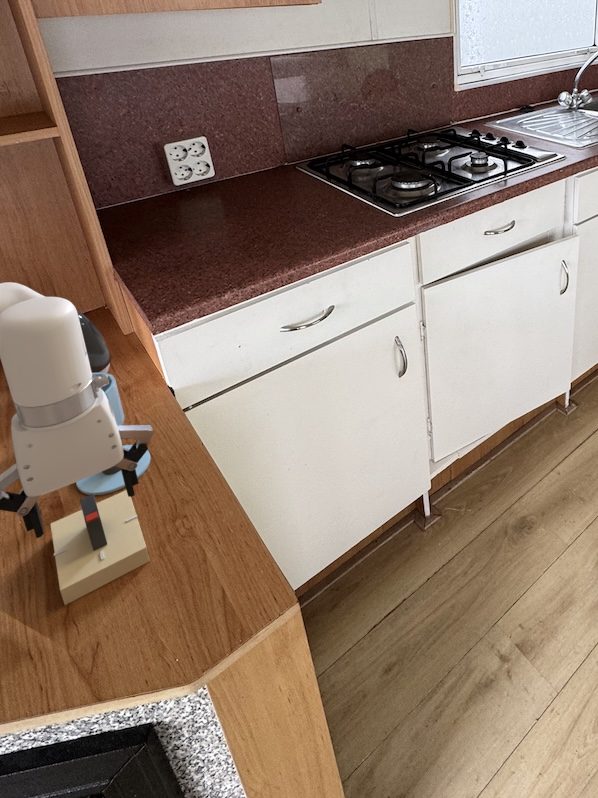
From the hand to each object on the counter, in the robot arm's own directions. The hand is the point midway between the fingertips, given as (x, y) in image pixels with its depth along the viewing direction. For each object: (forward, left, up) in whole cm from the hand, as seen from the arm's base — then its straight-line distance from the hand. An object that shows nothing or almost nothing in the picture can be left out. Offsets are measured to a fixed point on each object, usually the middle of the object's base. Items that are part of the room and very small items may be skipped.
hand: (86, 508), depth 74 cm
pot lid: (-10, +10, -7) cm, 16 cm away
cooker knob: (+1, 0, -4) cm, 4 cm away
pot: (-22, +15, -7) cm, 28 cm away
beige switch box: (+1, 0, -7) cm, 7 cm away
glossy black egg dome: (-36, +23, -8) cm, 44 cm away
